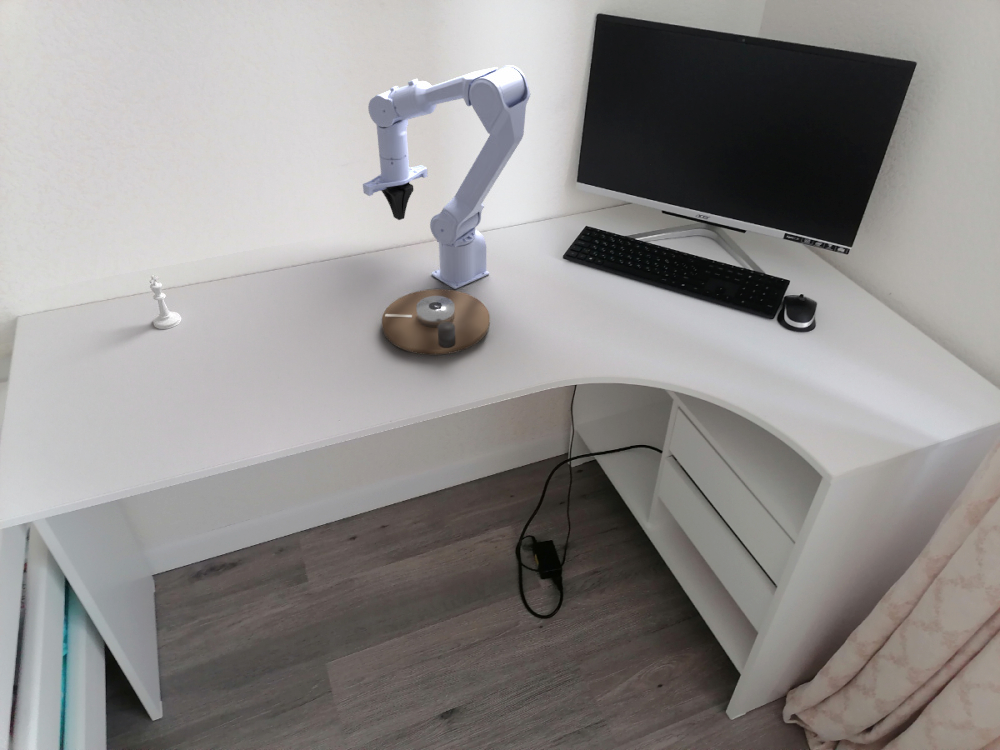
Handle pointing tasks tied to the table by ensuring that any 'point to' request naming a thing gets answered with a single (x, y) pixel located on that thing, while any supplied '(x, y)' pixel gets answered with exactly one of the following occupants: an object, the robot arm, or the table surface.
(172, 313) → the chess piece
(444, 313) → the cover
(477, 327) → the turntable
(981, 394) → the table surface
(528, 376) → the table surface
